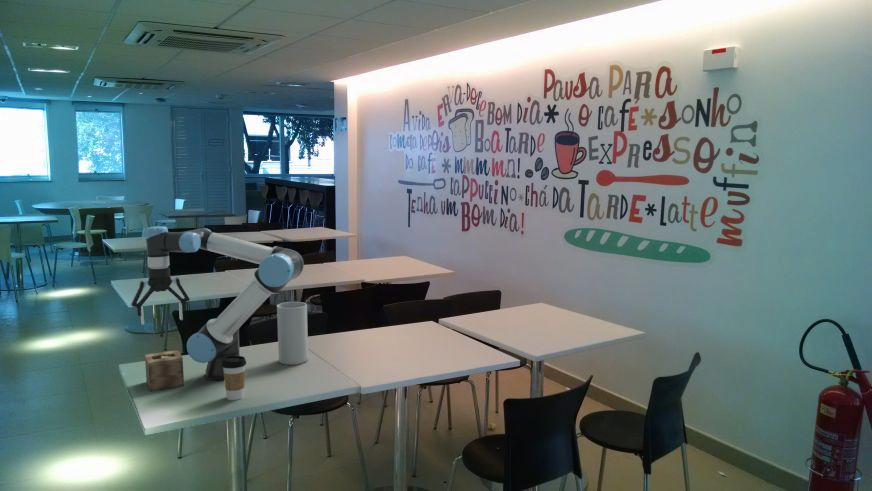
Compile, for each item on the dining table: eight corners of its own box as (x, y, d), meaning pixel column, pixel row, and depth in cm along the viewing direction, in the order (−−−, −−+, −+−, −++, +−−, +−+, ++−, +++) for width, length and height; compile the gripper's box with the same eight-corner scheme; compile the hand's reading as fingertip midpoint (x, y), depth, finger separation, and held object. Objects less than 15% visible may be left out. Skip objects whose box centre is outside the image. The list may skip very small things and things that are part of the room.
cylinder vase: (314, 359, 265) (312, 304, 262) (293, 367, 255) (291, 309, 252) (293, 354, 272) (292, 300, 269) (272, 362, 262) (270, 305, 259)
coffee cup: (226, 393, 225) (224, 354, 223) (249, 392, 226) (248, 354, 224) (220, 402, 217) (218, 361, 215) (244, 401, 217) (242, 361, 216)
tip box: (179, 376, 244) (177, 350, 242) (184, 385, 233) (182, 358, 232) (146, 381, 237) (144, 354, 236) (150, 391, 227) (148, 363, 226)
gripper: (192, 263, 239) (194, 315, 242) (121, 268, 226) (125, 323, 229) (195, 265, 233) (198, 319, 235) (123, 271, 220) (126, 328, 223)
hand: (162, 321), depth 232 cm, fingers open, 13 cm apart
